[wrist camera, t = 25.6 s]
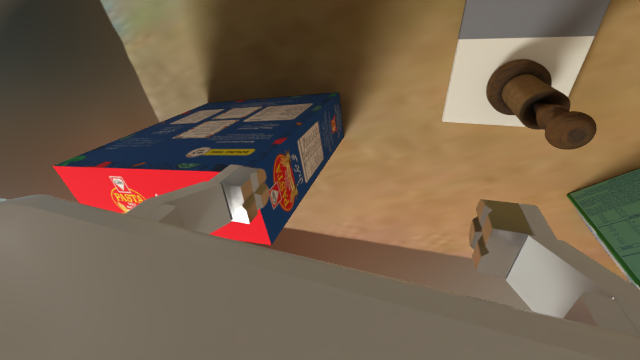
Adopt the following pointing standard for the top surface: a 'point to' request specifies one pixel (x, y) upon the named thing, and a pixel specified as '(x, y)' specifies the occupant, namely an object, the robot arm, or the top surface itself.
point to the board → (517, 49)
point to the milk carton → (614, 219)
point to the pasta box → (216, 157)
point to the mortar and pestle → (538, 103)
